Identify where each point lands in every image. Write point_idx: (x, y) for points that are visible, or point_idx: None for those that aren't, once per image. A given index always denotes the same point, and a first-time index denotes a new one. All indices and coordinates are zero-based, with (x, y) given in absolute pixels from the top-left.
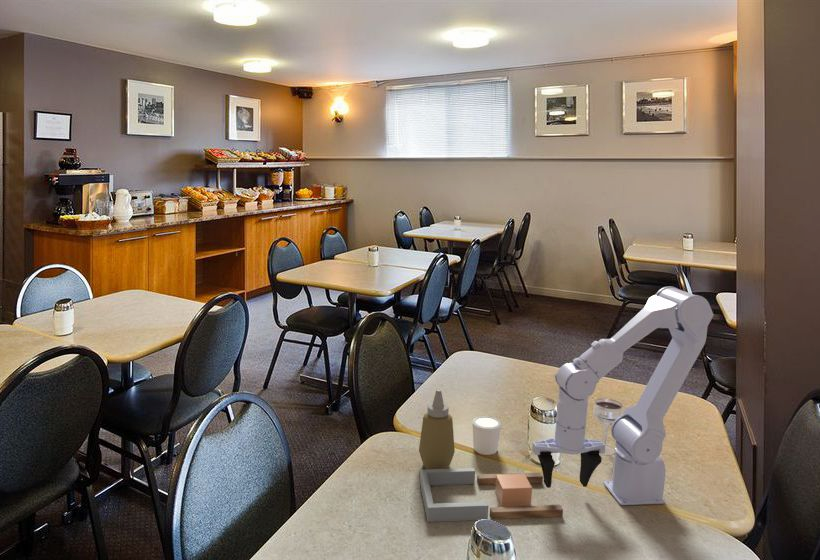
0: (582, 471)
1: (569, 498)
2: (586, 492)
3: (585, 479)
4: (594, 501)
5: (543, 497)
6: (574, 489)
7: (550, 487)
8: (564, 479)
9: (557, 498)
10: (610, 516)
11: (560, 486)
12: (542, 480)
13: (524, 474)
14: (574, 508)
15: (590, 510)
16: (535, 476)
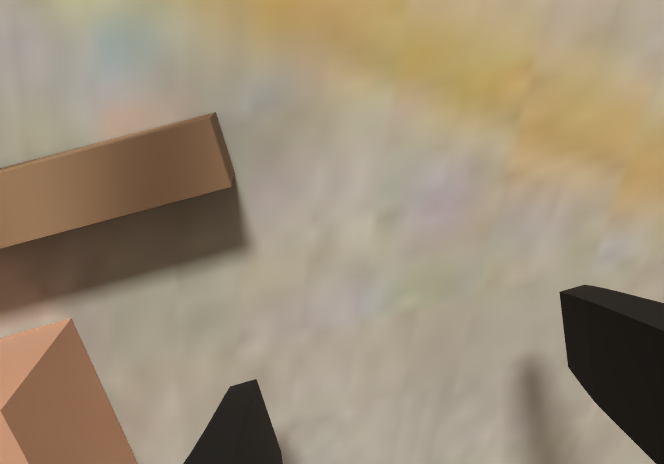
0: (644, 372)
1: (424, 336)
2: (567, 234)
3: (622, 426)
4: None
5: (234, 369)
6: (487, 213)
7: (280, 452)
8: (437, 74)
9: (337, 356)
10: (631, 453)
11: (383, 194)
12: (232, 178)
13: (3, 426)
14: (434, 434)
15: (531, 428)
16: (156, 205)
